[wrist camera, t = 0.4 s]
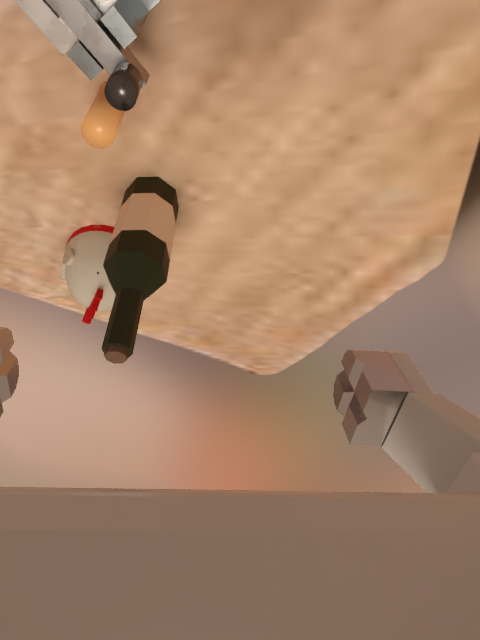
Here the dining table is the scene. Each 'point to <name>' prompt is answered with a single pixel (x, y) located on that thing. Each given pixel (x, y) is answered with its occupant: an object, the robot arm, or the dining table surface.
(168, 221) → the wine bottle
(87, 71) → the mount
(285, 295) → the dining table surface
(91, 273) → the kitchen timer
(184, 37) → the dining table surface
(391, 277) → the dining table surface
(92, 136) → the orange rounded cylinder
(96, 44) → the crank handle
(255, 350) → the dining table surface
